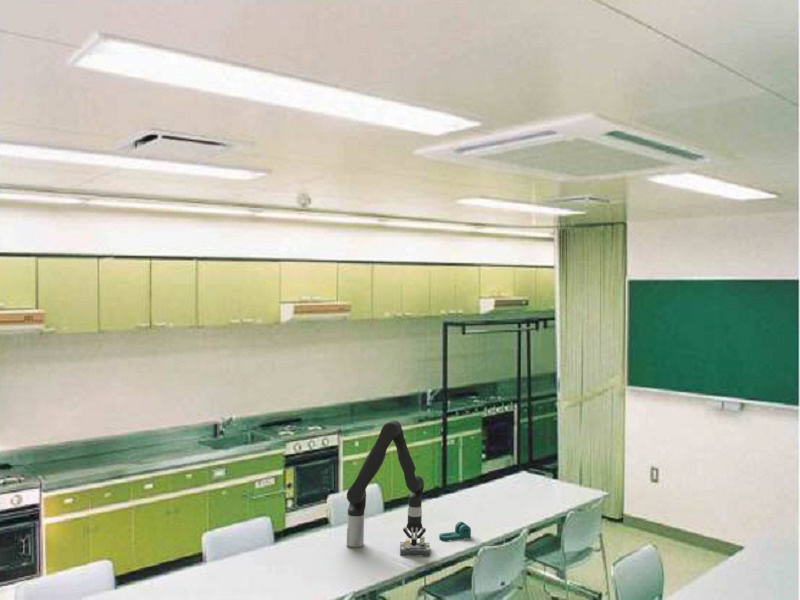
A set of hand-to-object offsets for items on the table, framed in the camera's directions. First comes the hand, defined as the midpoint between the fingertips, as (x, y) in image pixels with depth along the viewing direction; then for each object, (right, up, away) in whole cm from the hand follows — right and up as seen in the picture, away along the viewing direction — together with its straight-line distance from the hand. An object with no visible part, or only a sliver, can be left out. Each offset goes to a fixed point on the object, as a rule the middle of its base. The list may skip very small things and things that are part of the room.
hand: (414, 545), depth 373 cm
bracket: (+24, -5, +25) cm, 35 cm away
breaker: (+5, -1, +6) cm, 8 cm away
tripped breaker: (-3, -1, 0) cm, 4 cm away
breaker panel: (0, -4, +3) cm, 5 cm away
